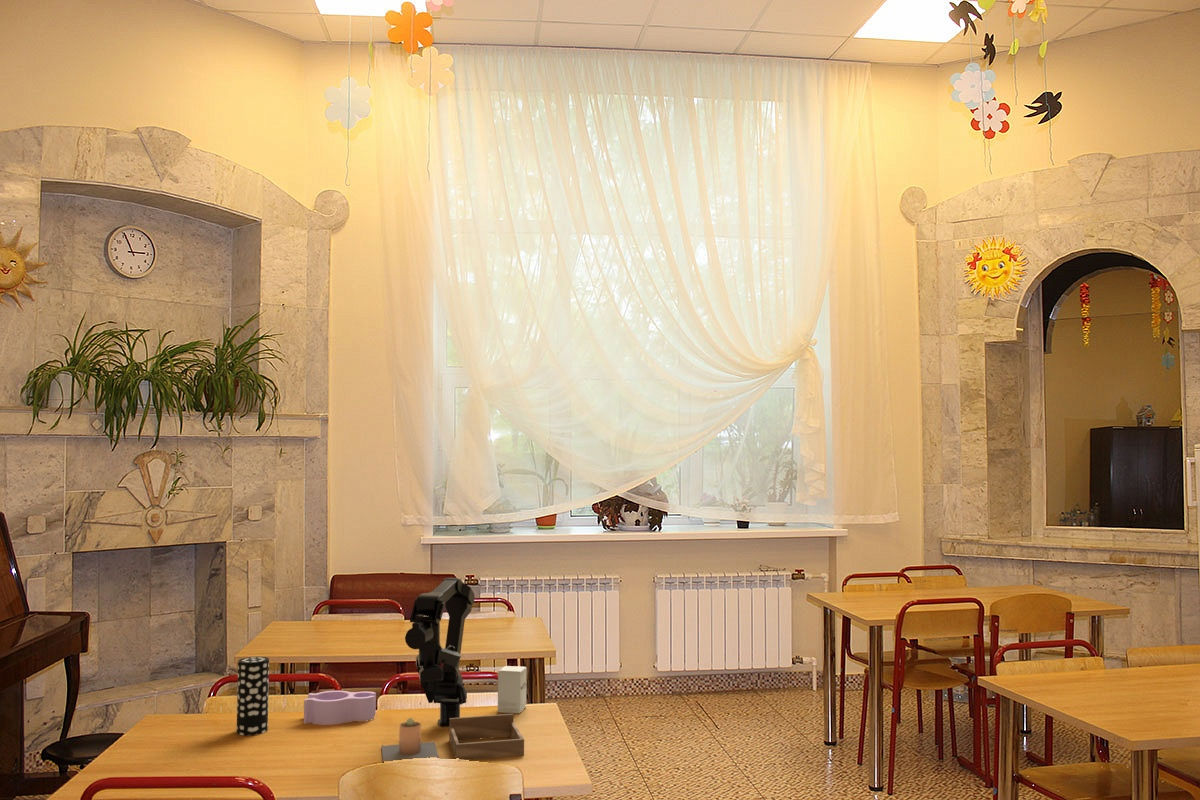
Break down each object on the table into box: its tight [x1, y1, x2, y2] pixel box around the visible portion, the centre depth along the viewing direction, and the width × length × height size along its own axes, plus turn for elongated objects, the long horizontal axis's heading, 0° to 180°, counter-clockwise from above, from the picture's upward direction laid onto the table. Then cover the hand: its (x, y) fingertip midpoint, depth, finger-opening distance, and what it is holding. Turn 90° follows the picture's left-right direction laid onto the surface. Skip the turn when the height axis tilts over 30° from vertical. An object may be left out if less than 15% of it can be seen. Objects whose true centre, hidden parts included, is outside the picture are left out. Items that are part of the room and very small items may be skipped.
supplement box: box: [497, 665, 528, 714], centre depth 289 cm, size 7×7×13 cm
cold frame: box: [448, 713, 525, 760], centre depth 252 cm, size 18×18×6 cm
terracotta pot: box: [398, 717, 422, 755], centre depth 247 cm, size 6×6×9 cm
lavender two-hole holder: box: [303, 690, 377, 726], centre depth 280 cm, size 20×12×7 cm, turn 97°
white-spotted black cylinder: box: [235, 656, 270, 737], centre depth 267 cm, size 8×8×20 cm
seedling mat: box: [381, 741, 440, 763], centre depth 247 cm, size 14×14×1 cm
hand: (429, 698), depth 258 cm, fingers open, 9 cm apart
